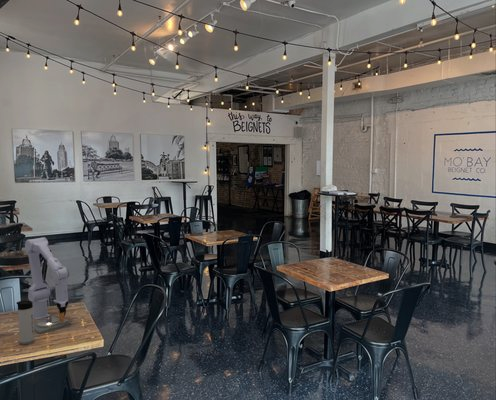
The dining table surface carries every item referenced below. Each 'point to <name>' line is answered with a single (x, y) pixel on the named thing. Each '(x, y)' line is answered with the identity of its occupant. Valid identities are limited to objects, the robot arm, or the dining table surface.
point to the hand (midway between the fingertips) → (62, 316)
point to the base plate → (47, 329)
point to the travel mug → (25, 322)
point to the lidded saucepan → (52, 321)
